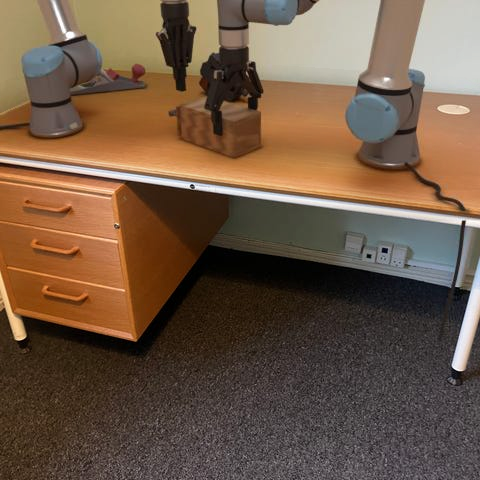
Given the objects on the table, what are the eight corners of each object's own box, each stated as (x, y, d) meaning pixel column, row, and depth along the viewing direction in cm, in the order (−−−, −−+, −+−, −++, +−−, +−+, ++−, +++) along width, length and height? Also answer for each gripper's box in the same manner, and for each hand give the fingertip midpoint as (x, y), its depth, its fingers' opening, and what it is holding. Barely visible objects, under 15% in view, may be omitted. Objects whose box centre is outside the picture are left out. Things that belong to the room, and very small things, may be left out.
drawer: (165, 129, 158) (163, 102, 154) (188, 121, 164) (186, 95, 160) (227, 151, 143) (226, 121, 139) (250, 141, 149) (250, 112, 144)
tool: (204, 81, 194) (218, 46, 183) (240, 115, 190) (257, 82, 179) (193, 84, 190) (206, 49, 179) (229, 120, 186) (245, 86, 175)
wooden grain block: (181, 139, 154) (178, 105, 149) (207, 129, 160) (205, 96, 155) (235, 158, 141) (234, 121, 136) (260, 146, 148) (261, 111, 142)
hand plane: (62, 90, 197) (53, 48, 189) (145, 82, 205) (140, 41, 197) (62, 96, 191) (54, 53, 184) (148, 87, 199) (143, 45, 191)
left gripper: (183, -3, 147) (189, 83, 160) (145, 3, 139) (155, 92, 152) (201, -1, 143) (206, 87, 155) (164, 5, 135) (172, 98, 147)
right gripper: (255, 36, 142) (255, 113, 154) (186, 52, 127) (192, 137, 138) (277, 39, 138) (275, 118, 149) (208, 57, 123) (212, 144, 134)
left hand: (181, 90), depth 153 cm, fingers closed
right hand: (235, 127), depth 144 cm, fingers open, 13 cm apart
